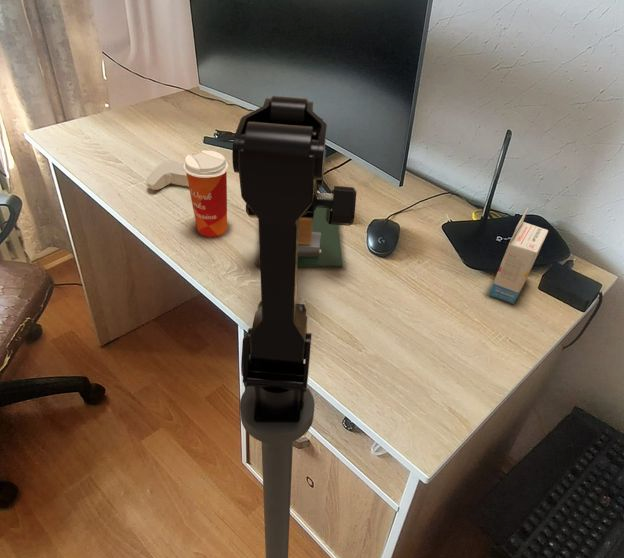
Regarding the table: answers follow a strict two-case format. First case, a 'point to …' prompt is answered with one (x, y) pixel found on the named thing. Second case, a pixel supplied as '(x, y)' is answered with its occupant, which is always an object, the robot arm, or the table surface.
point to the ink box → (518, 261)
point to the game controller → (167, 175)
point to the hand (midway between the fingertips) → (302, 213)
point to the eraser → (308, 239)
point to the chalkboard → (324, 243)
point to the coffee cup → (208, 191)
